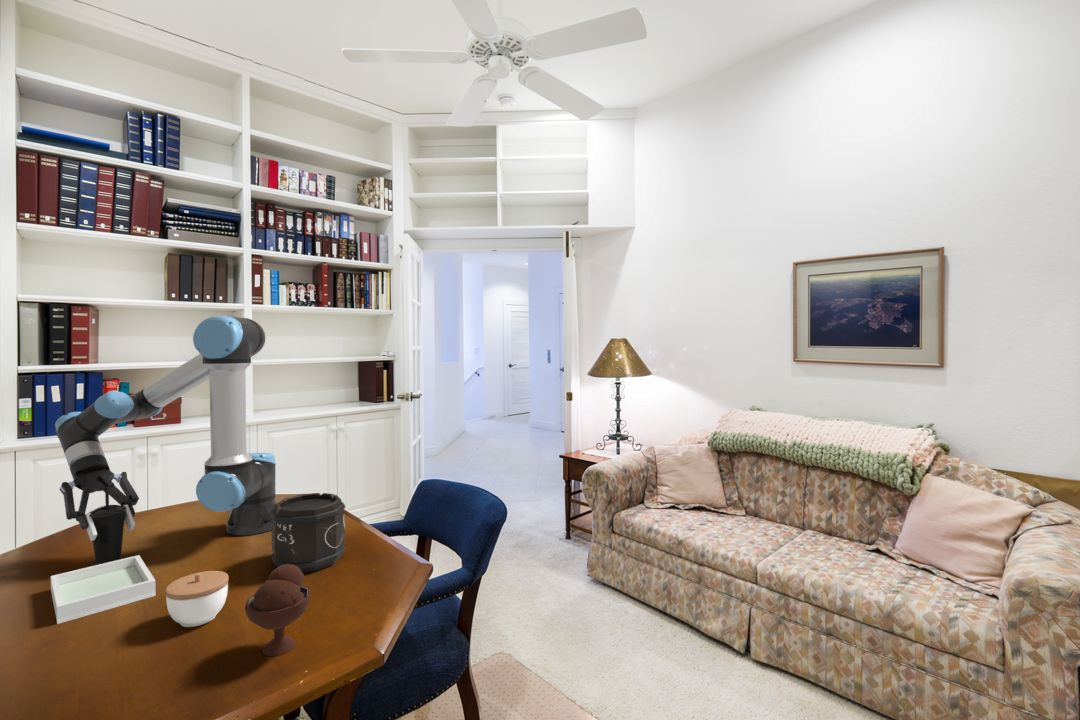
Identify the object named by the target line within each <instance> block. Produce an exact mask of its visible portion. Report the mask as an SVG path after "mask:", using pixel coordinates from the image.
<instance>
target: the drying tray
mask: <svg viewBox="0 0 1080 720" xmlns="http://www.w3.org/2000/svg"><path fill="white" fill-rule="evenodd" d="M50 593H51V599H52V603H53V608H54V614H55V618H56V624H57V625H59V624H62V623H66V622H69V621H73V620H76V619H80V618H84V617H86V616H91V615H93V614H97V613H101V612H104V611H107V610H111V609H114V608H118V607H121V606H125V605H129V604H132V603H134V602H139V601H141V600H146V599H150V598H153V597H156V595H157V594H156V593H157V590H156V579H155V577H154V575H153V574H152V572H151V571H150V570H149V568H148V567H147V565H146V564H145V562H144V560H143V559H142V557H141V555H140V554H138V555H134V556H130V557H129V556H128V557H125V558H121V559H120V560H116V561H112V562H108V563H104V564H99V565H96V564H95V565H91V566H87V567H83V568H79V569H74V570H72V571H67V572H63V573H58V574H55V575H51V576H50Z"/></svg>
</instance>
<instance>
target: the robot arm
mask: <svg viewBox="0 0 1080 720" xmlns="http://www.w3.org/2000/svg"><path fill="white" fill-rule="evenodd" d="M192 342H193V346H194V348H195V350H196V351H197V352H198V353H199V354H197V355H195V356H194V357H193V358H190V360H188V361H186V362H185V363H182V364H181V365H179V366H177V367H176V368H174V369H173V370H171V371H170V372H168V373H166V374H165V375H163V376H162V377H160V378H158V379H156V380H155V381H153V382H152V383H150V384H148V385H147V386H145V387H143V389H140V390H139V391H138V392H136V393H134V394H131V395H130V394H127V393H125V392H123V391H118V390H114V389H113V390H110V391H107V392H106V393H104V394H102V395H101V396H99V397H97V399H96V400H95V401H94V402H93V403H91V404H90V405H88V407H86V408H85V409H84V410H83V411H73V412H72V411H71V412H68V413H67V414H66V415H65V414H64V415H61V416H59V418H57V420H56V421H55V423H54V424H55V431H56V436H57V438H58V440H59V443H60V445H61V448H62V451H63V453H64V456H65V459H66V462H67V464H68V467H69V471H70V474H71V476H72V479H73V480H71V481H69V482H68V481H63V482H62V483H61V486H60V488H59V491H60V493H61V494H62V495H63V500H64V501H63V502H64V509H65V516H66V518H65V519H66V520H69V521H70V520H73V519H75V521H76V522H78V524H79V526H80V529H81V530H82V531H83V530H86V532H87V534H88V537H89V539H90V542H93V540H95V538H96V536H97V531H96V529H95V526H94V523H93V520H92V517H90V516H89V515H90V513H89V512H86V511H87V506H88V502H89V498H90V494H93V493H95V492H104V493H105V486H109V497H111V498H112V499H113V500H114V501H115V502H116V503H118V505H120V506H124V507H126V508H127V509H126V511H125V518H124V523H125V525H126V528H127V530H128V532H131V531H133V530H134V528H135V526H136V522H135V520H134V517H135V515H136V511H135V509H134V506H137V504H138V502H139V500H140V497H139V495H138V494H137V492H136V489H134V488H133V485H132V484H131V481H129V479H128V473H127V472H126V471H121V473H114V472H112V471H111V469H110V466H109V462H108V461H107V458H106V456H105V452H104V450H103V448H102V446H101V443H100V440H99V436H100V435H102V434H104V433H105V432H107V430H109V429H110V428H111V427H113V426H114V425H116V424H121V423H126V422H131V421H132V422H133V421H137V420H141V419H149V418H151V417H155V416H158V415H159V414H160V413H161V412H162V410H163V408H164V407H166V406H167V405H168V404H170V403H172V402H174V401H175V400H177V399H179V398H180V397H181V396H183V395H184V394H187V393H188V392H190V391H192V390H193V389H194V388H197V387H198V386H199V385H201V384H203V383H204V382H206V381H207V380H209V419H210V420H209V421H210V422H209V425H210V456H209V457H208V458H207V460H205V462H204V475H203V476H202V477H201V478H200V479H199V480H198V482H197V483H196V487H195V494H196V498H197V500H198V501H199V503H200V504H201V505H202V506H203V507H205V508H206V509H207V510H209V511H212V512H215V513H216V512H217V513H223V512H228V511H230V512H229V515H228V518H227V521H226V525H225V528H226V529H225V531H226V533H227V534H229V535H232V536H249V535H251V536H252V535H258V534H262V533H266V532H269V531H272V527H271V524H272V516H271V511H272V510H273V509H274V507H275V504H277V503H278V502H277V499H276V465H277V463H276V456H275V455H274V454H273V453H271V452H247V421H246V420H247V413H246V412H247V411H246V409H247V407H246V405H247V403H246V402H247V401H246V395H247V394H246V369H248V367H249V366H251V365H252V357H253V356H256V355H257V354H258V353H259V352H261V351H262V349H263V348H264V346H265V343H266V332H265V331H264V328H263V327H262V326H261V325H260V324H259V323H258V322H256V321H255V320H254V319H251V318H247V317H237V316H232V315H214V316H209V317H206V318H205V319H203V320H202V321H201V322H200V323H199V324H197V326H196V328H195V329H194V333H193V335H192ZM113 480H115V481H116V483H118V484H119V486H120V489H121V490H120V489H119V488H118V487H117V486H115V485H116V484H115V483H114V482H113ZM74 487H75V488H77V489H79V490H81V491H82V492H81V497H80V502H79V504H78V505H79V506H78V510H76V508H75V507H76V506H75V499H74V493H73V491H74Z"/></svg>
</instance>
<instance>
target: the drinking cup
mask: <svg viewBox="0 0 1080 720" xmlns="http://www.w3.org/2000/svg"><path fill="white" fill-rule="evenodd" d="M104 494H105V495H104V498H105V502H104V503H105V505H103V506H99V507H97V508H95V509H93V510H91V511H88V513H90V515H89V516H90V517H92V520H93V523H94V526H95V529H96V531H97V536H96V538H95V540H93V541H92V545H93V552H94V558H95V565H99V564H104V563H108V562H112V561H116V560H120V559H122V548H123V539H124V537H123V536H124V529H125V528H124V527H125V520H124V518H125V511H126V509H127V508H126V507H124V506H121V505H120V504H110V500H109V499H110V495H109V486H105V492H104Z"/></svg>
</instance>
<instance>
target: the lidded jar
mask: <svg viewBox="0 0 1080 720" xmlns="http://www.w3.org/2000/svg"><path fill="white" fill-rule="evenodd" d="M228 592H229V574H228V573H227V572H225V571H221V570H207V571H200V572H199V571H198V572H196V573H195V572H194V573H191V574H188V575H186V576H183V577H180V578H177V579H176V580H173V581H172V582H171V583H169V584H168V585H167V586H166V587H165V596H166V597H165V599H166V600H165V601H166V607H167V611H168V614H169V616H170V617H171V618H172V620H173V621H175V622H176V623H178V624H180V626H182V627H183V628H193V627H194V628H195V627H198V626H199V627H200V626H202V625H204V624H208V623H209V622H211V621H212V620H214V619H215V618H216V616H217V615H218V614H219V612H220V611H221V610H222V609H223V607H224V605H225V604H226V602H227V601H226V600H227V597H228Z"/></svg>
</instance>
